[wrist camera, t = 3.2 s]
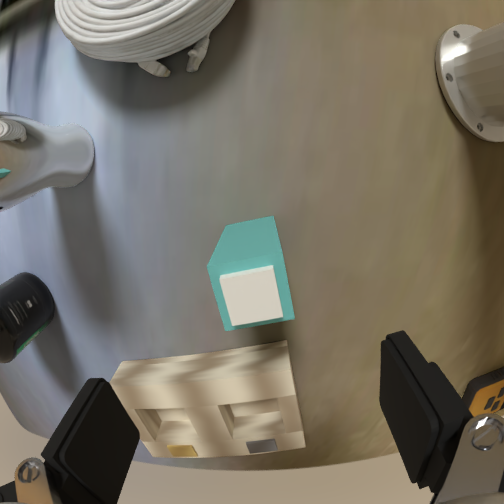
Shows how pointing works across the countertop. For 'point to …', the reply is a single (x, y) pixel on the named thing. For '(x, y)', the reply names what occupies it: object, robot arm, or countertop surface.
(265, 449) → the socket block
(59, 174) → the beer glass
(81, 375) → the countertop surface
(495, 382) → the electronic device
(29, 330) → the supplement bottle
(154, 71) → the cable
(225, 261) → the plug
